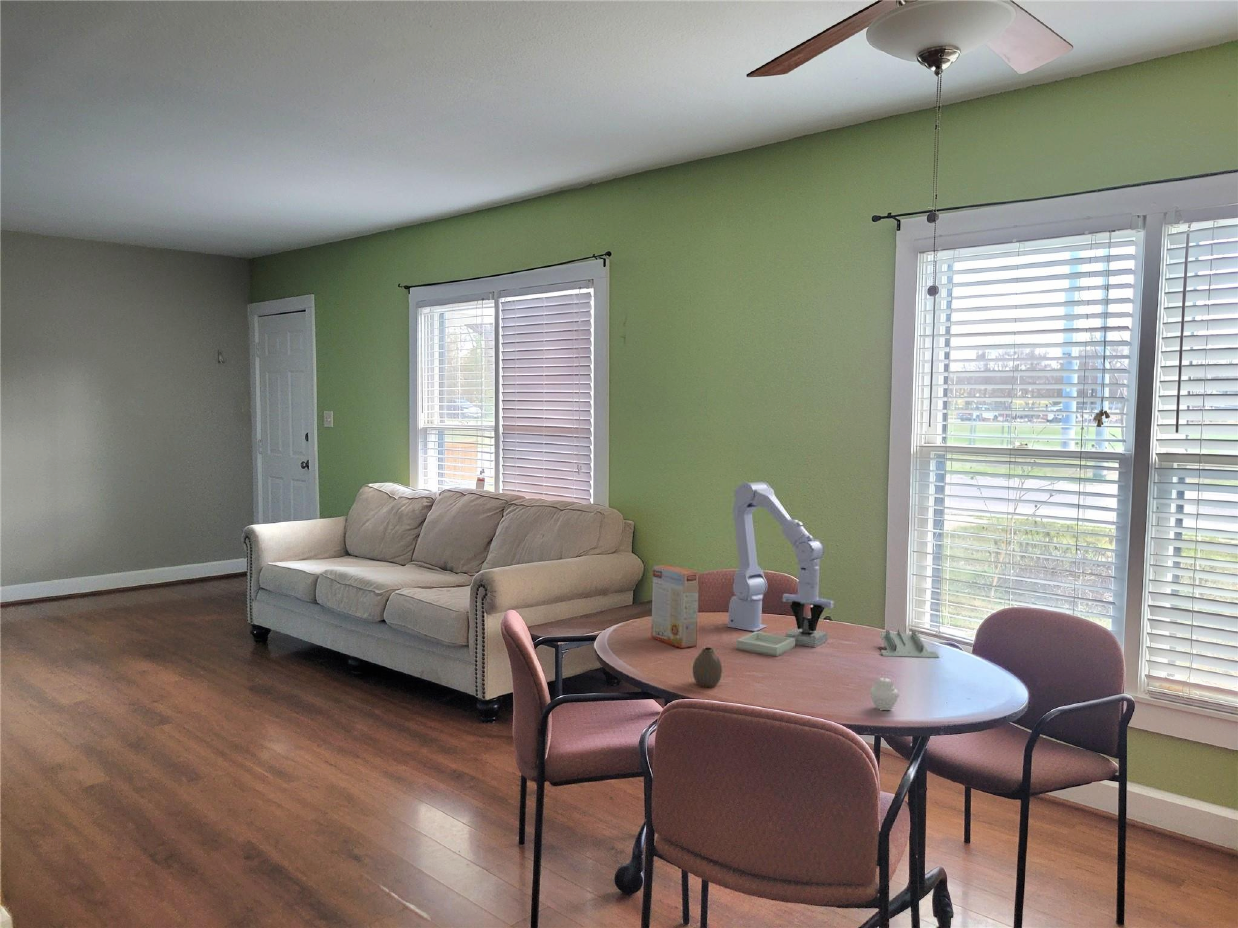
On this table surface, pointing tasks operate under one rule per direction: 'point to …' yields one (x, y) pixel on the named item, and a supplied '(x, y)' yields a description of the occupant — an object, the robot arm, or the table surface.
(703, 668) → the vase
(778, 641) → the tray
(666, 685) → the table surface
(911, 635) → the metal bracket
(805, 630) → the pin
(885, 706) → the white rounded piece
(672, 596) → the cracker box
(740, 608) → the robot arm
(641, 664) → the table surface
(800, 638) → the block
